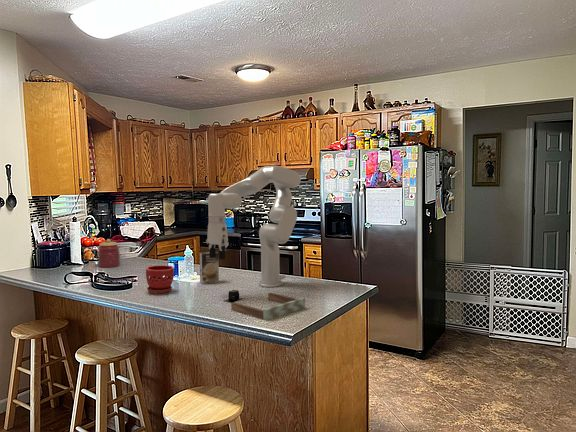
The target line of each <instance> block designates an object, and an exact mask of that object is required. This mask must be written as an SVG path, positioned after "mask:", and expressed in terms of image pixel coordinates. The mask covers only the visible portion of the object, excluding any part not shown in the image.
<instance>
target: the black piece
mask: <svg viewBox="0 0 576 432" xmlns="http://www.w3.org/2000/svg"><path fill="white" fill-rule="evenodd" d="M239 291H240V290H238V289H233V290H229V291H228V298H227V299H225V300H223V303H224V302H225V303H229V304H231V303H233V302H235V303H237V302H238V301H242V300H244V299H246V298H245V297H241V296H240V292H239Z"/></svg>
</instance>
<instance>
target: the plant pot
mask: <svg viewBox="0 0 576 432" xmlns="http://www.w3.org/2000/svg"><path fill="white" fill-rule="evenodd" d="M174 273H175V268H174V267H173V266H171V265H163V264H161V265H152V266H151V265H150V266H147V267H146V268H145V278H146V283H147V285H148V287H146V290H147V291H148V292H149V293H152V294H165V293H168V292H170V291H171V290H172V289H173V287H172V284H173V281H174V276H175V275H174Z"/></svg>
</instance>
